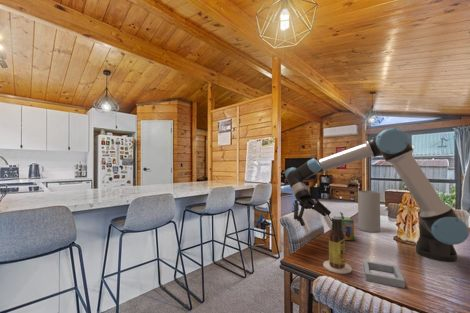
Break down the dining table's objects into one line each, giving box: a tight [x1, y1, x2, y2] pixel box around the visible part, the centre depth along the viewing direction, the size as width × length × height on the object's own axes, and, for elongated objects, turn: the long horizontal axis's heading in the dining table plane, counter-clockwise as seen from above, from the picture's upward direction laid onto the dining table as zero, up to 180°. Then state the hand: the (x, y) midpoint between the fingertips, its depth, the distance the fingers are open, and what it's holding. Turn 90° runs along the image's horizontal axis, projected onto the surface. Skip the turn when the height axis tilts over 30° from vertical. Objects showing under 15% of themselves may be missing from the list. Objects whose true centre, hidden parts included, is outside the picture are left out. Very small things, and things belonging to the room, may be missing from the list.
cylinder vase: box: [357, 190, 381, 233], centre depth 151 cm, size 12×12×25 cm
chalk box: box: [337, 211, 355, 241], centre depth 135 cm, size 9×9×15 cm
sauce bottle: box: [328, 216, 346, 268], centre depth 97 cm, size 7×6×20 cm
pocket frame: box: [362, 259, 406, 289], centre depth 89 cm, size 12×13×2 cm
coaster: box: [322, 259, 353, 275], centre depth 96 cm, size 11×11×1 cm
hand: (320, 230), depth 107 cm, fingers open, 13 cm apart
